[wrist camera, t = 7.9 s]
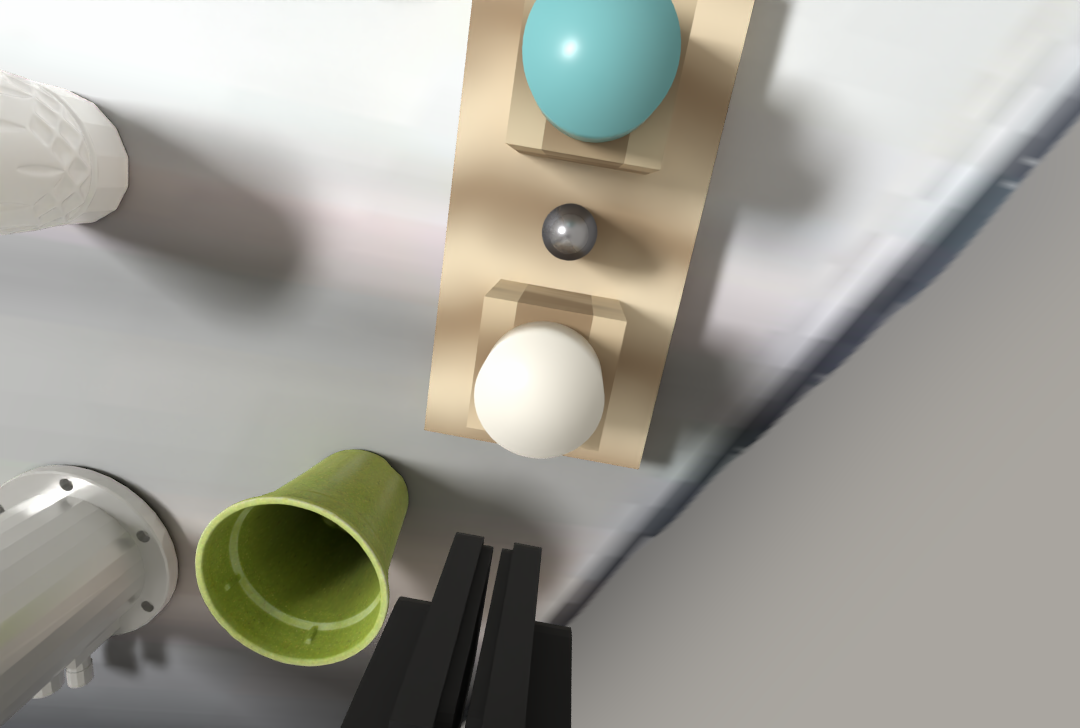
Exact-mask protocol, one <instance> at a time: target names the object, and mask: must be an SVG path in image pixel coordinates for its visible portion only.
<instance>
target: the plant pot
mask: <svg viewBox="0 0 1080 728" xmlns="http://www.w3.org/2000/svg"><path fill="white" fill-rule="evenodd" d="M408 501H409V498H408V490H407V487H406V484H405V482H404V480H403V478H402V476H401V475H399V474H398V473H397V472H396V471H395V470H394V469H393V468H392V467H391V466H390V465H389V464H388V462H387V461H386V460H385V459H384V458H382V457H380V456H379V455H376V454H374V453H371V452H368V451H364V450H354V449H353V450H344V451H340V452H337V453H334V454H332V455H330V456H329V457H327V458H325V459H324V460H322V461H321V462H319V463H318V464H316V465H315V466H313V467H312V468H310V469H309V470H308V471H306V472H305V473H303V474H301V475H300V476H298V477H297V478H295V479H294V480H292V481H290V482H289V483H287V484H285V485H284V486H282V487H281V488H279V489H277V490H276V491H274V492H271V493H268V494H265V495H262V496H258V497H253V498H249V499H246V500H243V501H240V502H238V503H236V504H234V505H232V506H230V507H228V508H227V509H225V510H224V511H222V512H221V513H220V514H218V515H217V516H216V517H215V518H214V519H213V520H212V521H211V522H210V523H209V524H208V526H207V527H206V529H205V530H204V532H203V533H202V535H201V538H200V540H199V543H198V546H197V550H196V557H195V567H196V578H197V583H198V587H199V590H200V593H201V595H202V598H203V600H204V602H205V604H206V606H207V607H208V608H209V610H210V612H211V613H212V615H213V616H214V617H215V619H216V620H217V621H218V623H219V624H220V625H221V626H222V627H223V628H224V629H225V630H226V631H227V632H228V633H229V634H230V635H231V636H232V637H233V638H234V639H236V640H238V641H239V642H240V643H241V644H243V645H244V646H246V647H247V648H249V649H251V650H253V651H255V652H257V653H259V654H261V655H263V656H265V657H268V658H270V659H273V660H275V661H279V662H282V663H286V664H292V665H300V666H321V665H327V664H332V663H336V662H339V661H342V660H345V659H347V658H349V657H351V656H353V655H355V654H357V653H358V652H360V651H361V650H363V649H364V648H365V647H366V646H367V645H368V644H370V643H371V642H372V641H373V639H374V638H375V637H376V636H377V634H378V633H379V631H380V629H381V627H382V625H383V623H384V620H385V618H386V614H387V611H388V606H389V584H388V569H389V566H390V562H391V559H392V556H393V552H394V549H395V546H396V543H397V540H398V536H399V533H400V530H401V527H402V524H403V521H404V518H405V515H406V512H407V508H408Z"/></svg>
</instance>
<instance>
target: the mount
mask: <svg viewBox="0 0 1080 728" xmlns="http://www.w3.org/2000/svg"><path fill="white" fill-rule="evenodd" d="M535 1H536V0H472V8H471V17H470V26H469V35H468V44H467V53H466V62H465V71H464V79H463V88H462V97H461V106H460V115H459V124H458V133H457V142H456V151H455V160H454V169H453V178H452V187H451V196H450V205H449V214H448V223H447V231H446V240H445V249H444V258H443V267H442V276H441V285H440V294H439V303H438V312H437V321H436V330H435V339H434V348H433V357H432V366H431V375H430V384H429V392H428V401H427V410H426V419H425V428H424V430H427V431H432V432H438V433H443V434H448V435H454V436H459V437H465V438H470V439H476V440H481V441H487V442H492V443H497V442H496V441H494V440H493V439H492V438H491V437H490V435H489V434H488V433H487V432H486V430H485V429H484V428H483V426H482V424H481V422H480V420H479V418H478V415H477V412H476V408H475V403H474V388H475V383H476V379H477V376H478V374H479V371H480V369H481V367H482V366H483V364H484V362H485V360H486V359H487V357H488V355H489V353H490V352H491V350H492V348H493V347H494V345H495V344H496V343H497V341H498V340H499V339H500V338H501V337H502V336H503V335H505V334H506V333H507V332H508V331H510V330H512V329H513V328H515V327H517V326H520V325H522V324H526V323H529V322H536V321H548V322H555V323H559V324H562V325H565V326H567V327H569V328H571V329H573V330H575V331H576V332H578V333H579V334H580V335H582V336H583V337H584V338H585V339H586V340H587V341H588V342H589V344H590V345H591V346H592V348H593V349H594V351H595V352H596V355H597V357H598V359H599V362H600V366H601V372H602V379H603V388H604V409H603V414H602V417H601V420H600V422H599V424H598V426H597V428H596V430H595V431H594V433H593V434H592V435H591V436H590V438H589V439H588V440H587V441H586V442H584V443H583V444H582V445H581V446H579V447H578V448H577V449H575V450H573V451H571V452H569V453H567V454H564V455H563V456H568V457H574V458H579V459H585V460H590V461H596V462H601V463H606V464H612V465H617V466H623V467H628V468H634V469H639V466H640V462H641V458H642V454H643V450H644V446H645V442H646V438H647V434H648V430H649V426H650V422H651V418H652V413H653V409H654V405H655V401H656V397H657V393H658V389H659V385H660V381H661V377H662V373H663V369H664V365H665V361H666V357H667V353H668V349H669V345H670V341H671V337H672V333H673V329H674V325H675V321H676V317H677V313H678V308H679V304H680V300H681V296H682V292H683V288H684V284H685V280H686V276H687V272H688V268H689V264H690V260H691V256H692V252H693V248H694V244H695V240H696V236H697V232H698V228H699V224H700V220H701V216H702V212H703V207H704V203H705V199H706V195H707V191H708V187H709V183H710V179H711V175H712V171H713V167H714V163H715V159H716V155H717V151H718V147H719V143H720V139H721V135H722V131H723V127H724V123H725V119H726V115H727V111H728V106H729V102H730V98H731V94H732V90H733V86H734V82H735V78H736V74H737V70H738V66H739V62H740V58H741V54H742V50H743V46H744V42H745V38H746V34H747V30H748V26H749V22H750V18H751V14H752V10H753V6H754V1H755V0H671V1H672V3H673V5H674V7H675V10H676V13H677V16H678V21H679V25H680V33H681V53H680V60H679V65H678V69H677V72H676V76H675V78H674V80H673V83H672V85H671V87H670V89H669V91H668V93H667V94H666V96H665V98H664V99H663V100H662V102H661V103H660V105H659V106H658V107H657V108H656V109H655V110H654V111H653V113H652V114H651V115H650V116H649V117H648V118H647V119H646V120H645V122H644V123H643V124H641V125H640V126H639V127H638V128H637V129H635V130H634V131H632V132H631V133H629V134H627V135H625V136H623V137H621V138H618V139H615V140H612V141H608V142H599V143H592V142H584V141H580V140H576V139H574V138H571V137H569V136H567V135H565V134H563V133H562V132H560V131H559V130H558V129H556V128H555V127H554V126H553V125H552V124H551V123H550V122H549V121H548V120H547V119H546V118H545V116H544V115H543V114H542V112H541V110H540V109H539V107H538V105H537V103H536V101H535V99H534V97H533V94H532V92H531V90H530V88H529V85H528V83H527V79H526V76H525V72H524V66H523V57H522V45H523V35H524V30H525V26H526V22H527V19H528V16H529V14H530V11H531V9H532V7H533V5H534V3H535ZM566 203H576V204H579V205H582V206H583V207H585V208H586V209H587V210H588V211H589V212H590V213H591V214H592V216H593V218H594V219H595V222H596V225H597V239H596V242H595V245H594V246H593V248H592V249H591V251H590V252H589V253H588V254H587V255H585V256H584V257H582V258H580V259H577V260H573V261H566V260H561V259H558V258H556V257H555V256H553V255H552V254H551V253H550V252H549V251H548V250H547V248H546V247H545V245H544V242H543V239H542V227H543V223H544V220H545V219H546V217H547V215H548V214H549V213H550V212H551V211H552V210H553V209H555V208H556V207H558V206H560V205H562V204H566ZM497 444H498V443H497Z"/></svg>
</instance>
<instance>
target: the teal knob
mask: <svg viewBox="0 0 1080 728" xmlns="http://www.w3.org/2000/svg"><path fill="white" fill-rule="evenodd" d="M680 53H681V33H680V25H679V21H678V16H677V13H676V10H675V7H674V5H673V3H672V1H671V0H536V1H535V3H534V5H533V7H532V9H531V11H530V14H529V16H528V19H527V22H526V26H525V30H524V35H523V45H522V57H523V66H524V72H525V76H526V79H527V83H528V85H529V88H530V90H531V92H532V94H533V97H534V99H535V101H536V103H537V105H538V107H539V109H540V110H541V112H542V114H543V115H544V116H545V118H546V119H547V120H548V121H549V122H550V123H551V124H552V125H553V126H554V127H555V128H556V129H558V130H559V131H560V132H562V133H563V134H565V135H567V136H569V137H571V138H574V139H576V140H580V141H584V142H592V143H599V142H608V141H612V140H615V139H618V138H621V137H623V136H625V135H627V134H629V133H631V132H632V131H634V130H635V129H637V128H638V127H639V126H640V125H641V124H643V123H644V122H645V120H646V119H647V118H648V117H649V116H650V115H651V114H652V113H653V111H654V110H655V109H656V108H657V107H658V106H659V105H660V103H661V102H662V100H663V99H664V98H665V96H666V94H667V93H668V91H669V89H670V87H671V85H672V83H673V80H674V78H675V76H676V72H677V69H678V65H679V60H680Z"/></svg>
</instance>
